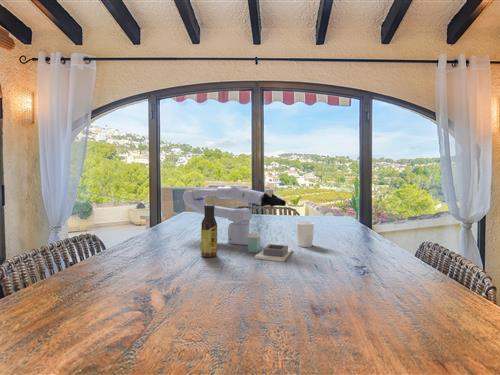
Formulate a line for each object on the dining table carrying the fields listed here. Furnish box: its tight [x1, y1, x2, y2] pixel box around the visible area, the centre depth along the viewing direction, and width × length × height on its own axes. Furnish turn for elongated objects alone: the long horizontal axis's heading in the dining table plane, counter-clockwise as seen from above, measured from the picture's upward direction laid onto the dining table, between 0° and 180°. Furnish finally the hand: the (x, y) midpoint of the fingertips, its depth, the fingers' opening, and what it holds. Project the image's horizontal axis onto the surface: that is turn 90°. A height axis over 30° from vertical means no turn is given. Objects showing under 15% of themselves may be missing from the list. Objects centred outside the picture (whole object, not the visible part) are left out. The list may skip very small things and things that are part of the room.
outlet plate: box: [254, 243, 294, 262], centre depth 122 cm, size 11×16×4 cm
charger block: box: [247, 232, 261, 254], centre depth 127 cm, size 4×4×7 cm
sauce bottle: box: [200, 204, 218, 258], centre depth 119 cm, size 7×6×20 cm
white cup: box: [295, 221, 315, 248], centre depth 136 cm, size 8×8×10 cm
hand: (282, 203), depth 130 cm, fingers open, 7 cm apart
